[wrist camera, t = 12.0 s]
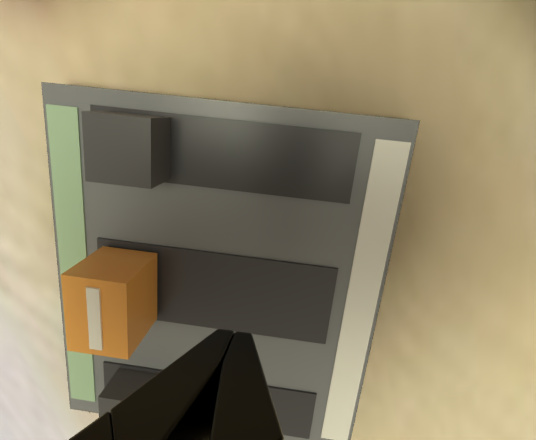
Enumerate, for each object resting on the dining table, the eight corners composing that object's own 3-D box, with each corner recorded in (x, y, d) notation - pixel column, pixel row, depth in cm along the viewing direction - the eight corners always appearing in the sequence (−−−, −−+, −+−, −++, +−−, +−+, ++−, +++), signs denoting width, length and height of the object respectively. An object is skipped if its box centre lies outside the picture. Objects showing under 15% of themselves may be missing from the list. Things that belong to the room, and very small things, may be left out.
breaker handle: (157, 253, 19) (125, 285, 16) (157, 318, 20) (127, 361, 17) (103, 245, 19) (58, 276, 16) (105, 311, 20) (65, 352, 17)
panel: (407, 119, 18) (439, 122, 14) (344, 426, 24) (352, 494, 20) (67, 84, 19) (-1, 77, 15) (87, 386, 25) (43, 442, 21)
